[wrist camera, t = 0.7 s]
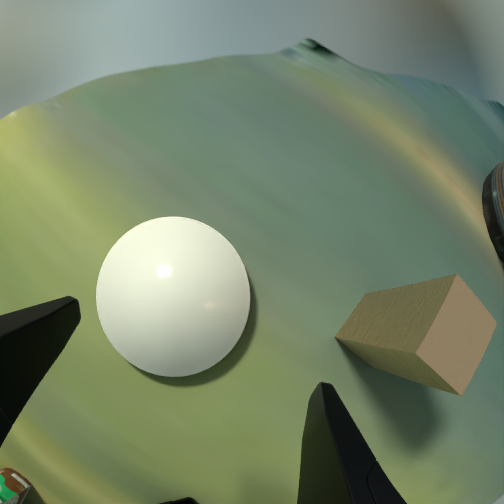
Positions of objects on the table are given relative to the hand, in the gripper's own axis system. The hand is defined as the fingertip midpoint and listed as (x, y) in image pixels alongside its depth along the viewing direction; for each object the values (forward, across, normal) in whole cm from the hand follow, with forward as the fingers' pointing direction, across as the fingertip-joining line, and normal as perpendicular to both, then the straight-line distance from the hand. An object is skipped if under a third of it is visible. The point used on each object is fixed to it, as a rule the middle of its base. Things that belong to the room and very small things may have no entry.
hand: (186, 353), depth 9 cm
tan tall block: (+15, -13, +7) cm, 21 cm away
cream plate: (+13, +6, +8) cm, 16 cm away
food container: (-9, +24, +37) cm, 45 cm away
